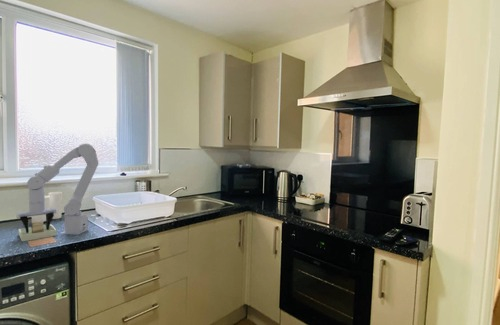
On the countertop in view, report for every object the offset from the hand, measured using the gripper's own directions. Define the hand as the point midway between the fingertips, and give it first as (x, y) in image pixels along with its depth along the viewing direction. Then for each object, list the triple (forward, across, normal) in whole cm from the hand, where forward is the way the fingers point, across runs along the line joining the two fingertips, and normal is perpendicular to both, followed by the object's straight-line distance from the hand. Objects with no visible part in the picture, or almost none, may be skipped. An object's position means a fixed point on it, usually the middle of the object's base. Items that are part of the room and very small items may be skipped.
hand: (37, 230), depth 128 cm
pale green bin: (+2, 0, 0) cm, 2 cm away
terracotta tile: (+2, 0, +12) cm, 13 cm away
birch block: (+2, 0, 0) cm, 2 cm away
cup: (+3, -5, -26) cm, 27 cm away
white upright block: (+3, -12, -31) cm, 34 cm away
